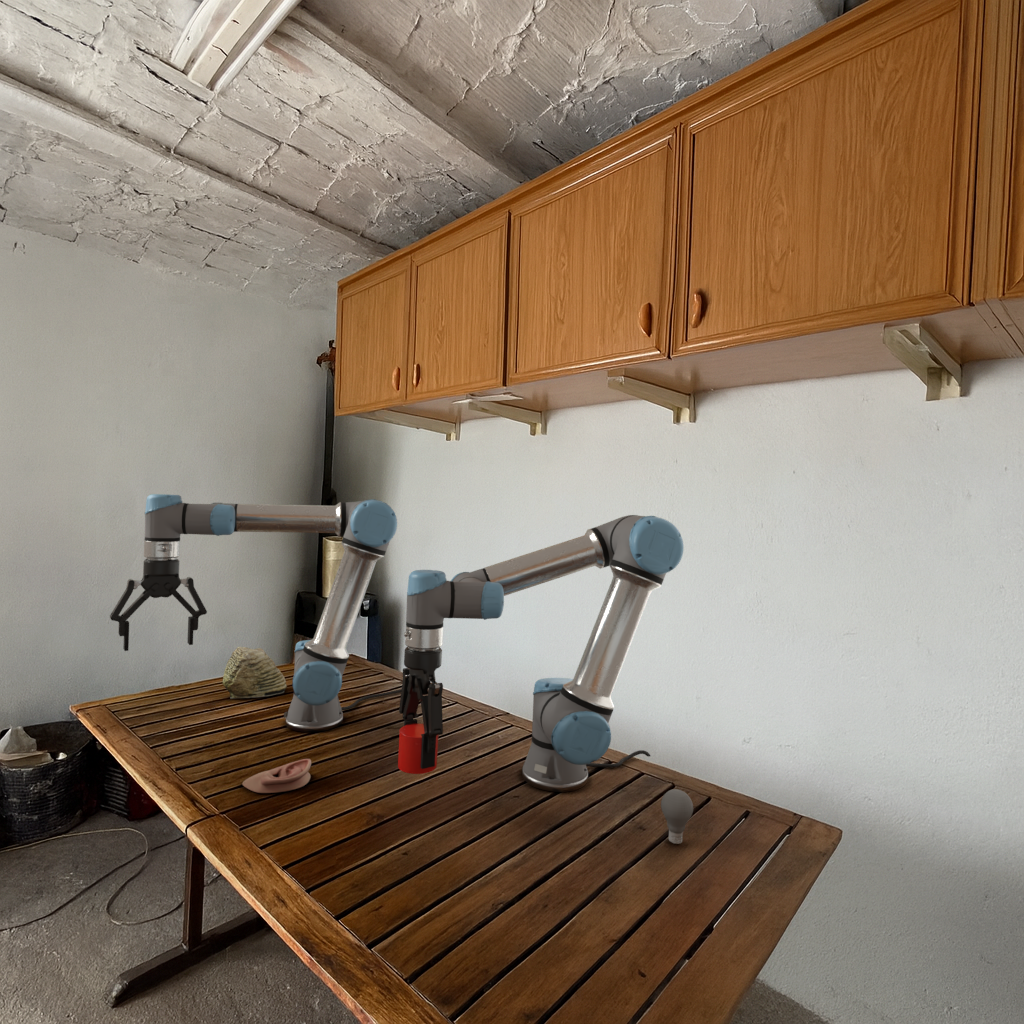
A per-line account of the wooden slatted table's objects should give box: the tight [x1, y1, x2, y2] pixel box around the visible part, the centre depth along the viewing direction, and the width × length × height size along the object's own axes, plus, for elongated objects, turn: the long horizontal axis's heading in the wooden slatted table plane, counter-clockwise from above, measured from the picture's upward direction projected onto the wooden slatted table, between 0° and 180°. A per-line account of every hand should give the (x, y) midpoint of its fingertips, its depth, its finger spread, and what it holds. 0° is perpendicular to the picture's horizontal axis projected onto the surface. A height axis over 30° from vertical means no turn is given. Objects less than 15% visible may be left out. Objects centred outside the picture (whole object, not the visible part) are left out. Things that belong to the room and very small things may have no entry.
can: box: [397, 722, 439, 775], centre depth 128 cm, size 8×8×7 cm
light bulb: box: [660, 788, 694, 845], centre depth 121 cm, size 6×6×10 cm
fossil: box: [222, 646, 288, 699], centre depth 198 cm, size 9×18×15 cm, turn 132°
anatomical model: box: [241, 758, 312, 794], centre depth 139 cm, size 13×4×12 cm
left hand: (158, 646), depth 152 cm, fingers open, 13 cm apart
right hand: (418, 758), depth 128 cm, fingers closed on can, 8 cm apart
